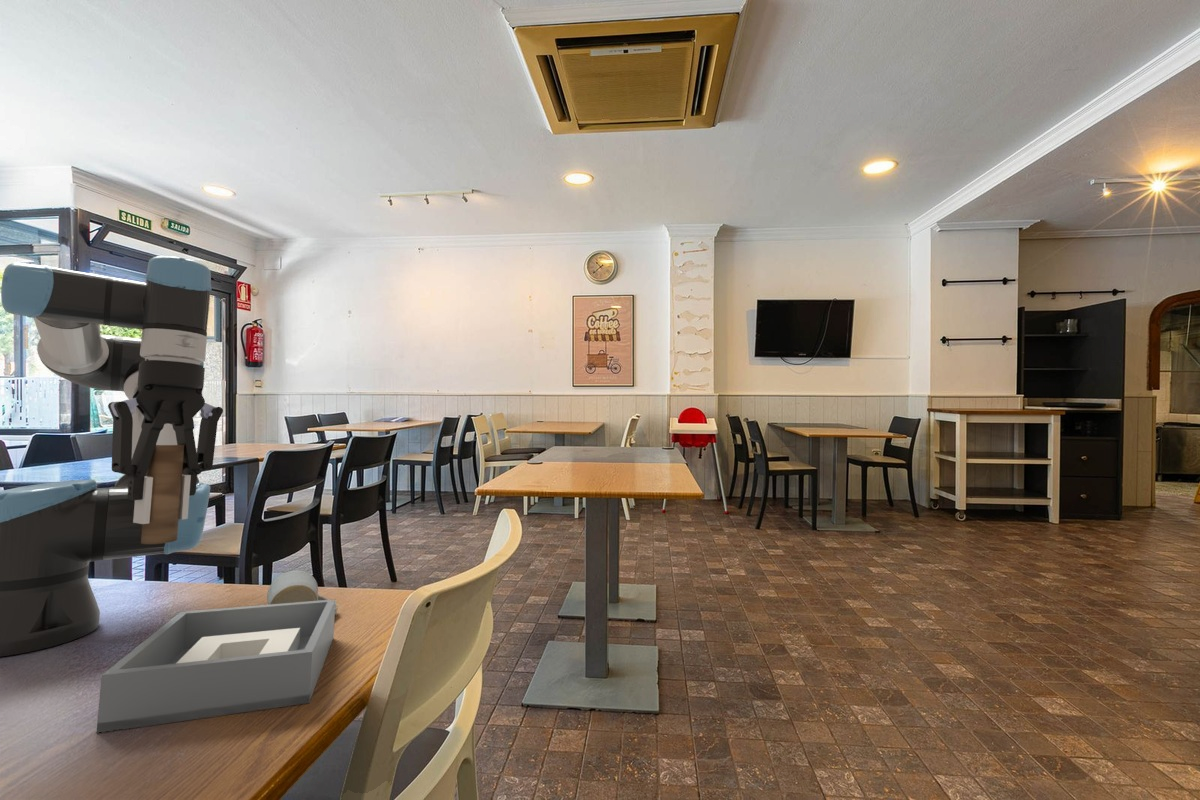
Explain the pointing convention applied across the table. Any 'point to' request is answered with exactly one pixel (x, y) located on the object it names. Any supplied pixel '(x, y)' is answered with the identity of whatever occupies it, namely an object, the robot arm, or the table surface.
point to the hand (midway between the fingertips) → (161, 520)
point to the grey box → (219, 665)
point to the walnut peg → (164, 494)
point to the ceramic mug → (294, 589)
